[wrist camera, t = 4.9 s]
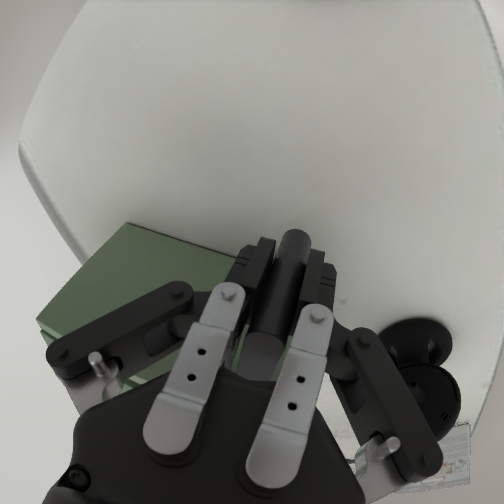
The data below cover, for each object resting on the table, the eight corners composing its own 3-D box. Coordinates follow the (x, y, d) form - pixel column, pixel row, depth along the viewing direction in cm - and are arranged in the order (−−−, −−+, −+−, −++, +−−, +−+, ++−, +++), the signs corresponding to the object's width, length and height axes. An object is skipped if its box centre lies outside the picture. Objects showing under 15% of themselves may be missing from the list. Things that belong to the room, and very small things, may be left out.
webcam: (376, 372, 27) (367, 465, 20) (363, 325, 24) (353, 438, 16) (451, 360, 24) (456, 456, 16) (453, 309, 20) (470, 424, 13)
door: (121, 153, 20) (-1, 241, 12) (339, 210, 19) (316, 374, 10) (126, 231, 25) (39, 327, 16) (308, 291, 23) (271, 433, 14)
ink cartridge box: (467, 428, 31) (467, 486, 23) (399, 438, 36) (392, 496, 29) (470, 422, 30) (470, 483, 22) (398, 433, 35) (392, 494, 27)
